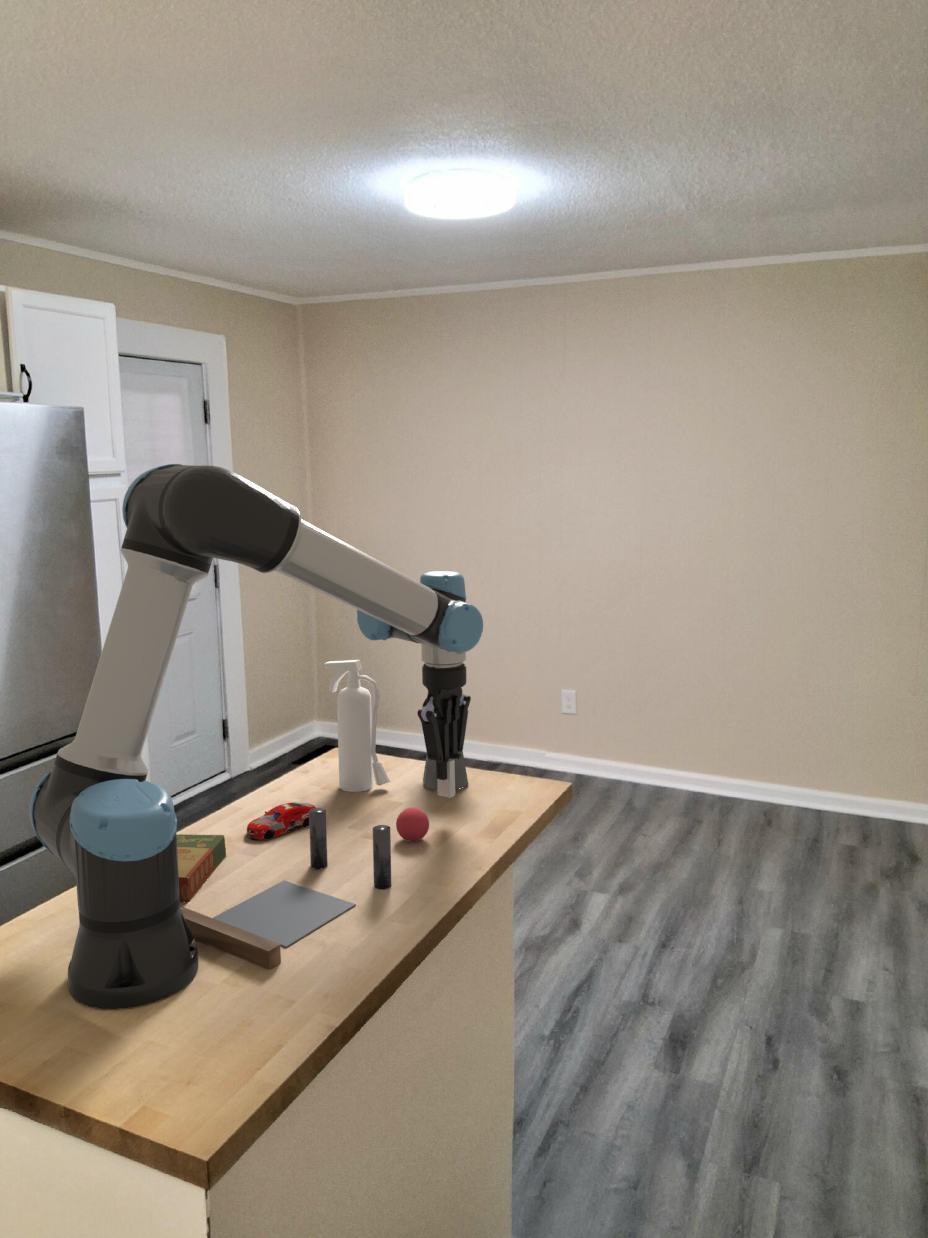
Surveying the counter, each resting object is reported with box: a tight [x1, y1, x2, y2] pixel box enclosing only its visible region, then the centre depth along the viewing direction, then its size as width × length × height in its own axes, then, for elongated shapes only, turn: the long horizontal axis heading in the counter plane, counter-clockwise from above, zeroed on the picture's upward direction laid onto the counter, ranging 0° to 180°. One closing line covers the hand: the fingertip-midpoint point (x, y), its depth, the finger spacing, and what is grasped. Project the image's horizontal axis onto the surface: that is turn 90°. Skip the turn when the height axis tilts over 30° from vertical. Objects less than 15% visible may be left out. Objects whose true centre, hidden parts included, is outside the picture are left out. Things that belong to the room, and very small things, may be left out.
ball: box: [395, 807, 430, 842], centre depth 156 cm, size 6×6×6 cm
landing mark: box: [212, 879, 357, 949], centre depth 132 cm, size 14×14×1 cm
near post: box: [372, 824, 392, 891], centre depth 139 cm, size 3×3×9 cm
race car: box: [246, 801, 317, 841], centre depth 162 cm, size 13×5×4 cm, turn 133°
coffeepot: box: [421, 697, 469, 791], centre depth 183 cm, size 15×9×18 cm, turn 29°
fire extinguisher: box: [323, 659, 391, 793], centre depth 180 cm, size 7×12×25 cm, turn 69°
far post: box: [308, 807, 329, 870], centre depth 146 cm, size 3×3×9 cm
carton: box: [176, 833, 227, 903], centre depth 143 cm, size 8×16×4 cm, turn 175°
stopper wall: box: [181, 907, 282, 970], centre depth 123 cm, size 2×18×2 cm, turn 56°
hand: (446, 795), depth 164 cm, fingers closed
